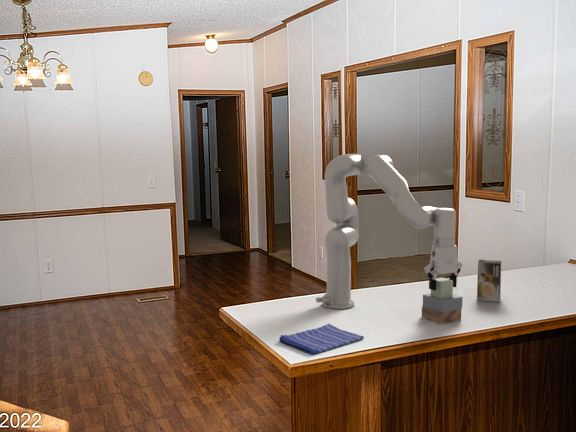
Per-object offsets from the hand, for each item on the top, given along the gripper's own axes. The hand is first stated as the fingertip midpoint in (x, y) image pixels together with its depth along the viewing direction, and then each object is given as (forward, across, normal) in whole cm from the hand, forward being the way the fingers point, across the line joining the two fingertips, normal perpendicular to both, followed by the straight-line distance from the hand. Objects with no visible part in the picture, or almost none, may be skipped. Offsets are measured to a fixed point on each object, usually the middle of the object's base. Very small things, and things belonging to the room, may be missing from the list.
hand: (442, 288), depth 226 cm
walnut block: (+12, 0, 0) cm, 12 cm away
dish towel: (+12, -52, 0) cm, 53 cm away
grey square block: (+7, 0, 0) cm, 7 cm away
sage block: (+3, 0, 0) cm, 3 cm away
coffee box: (+12, +35, +11) cm, 39 cm away
